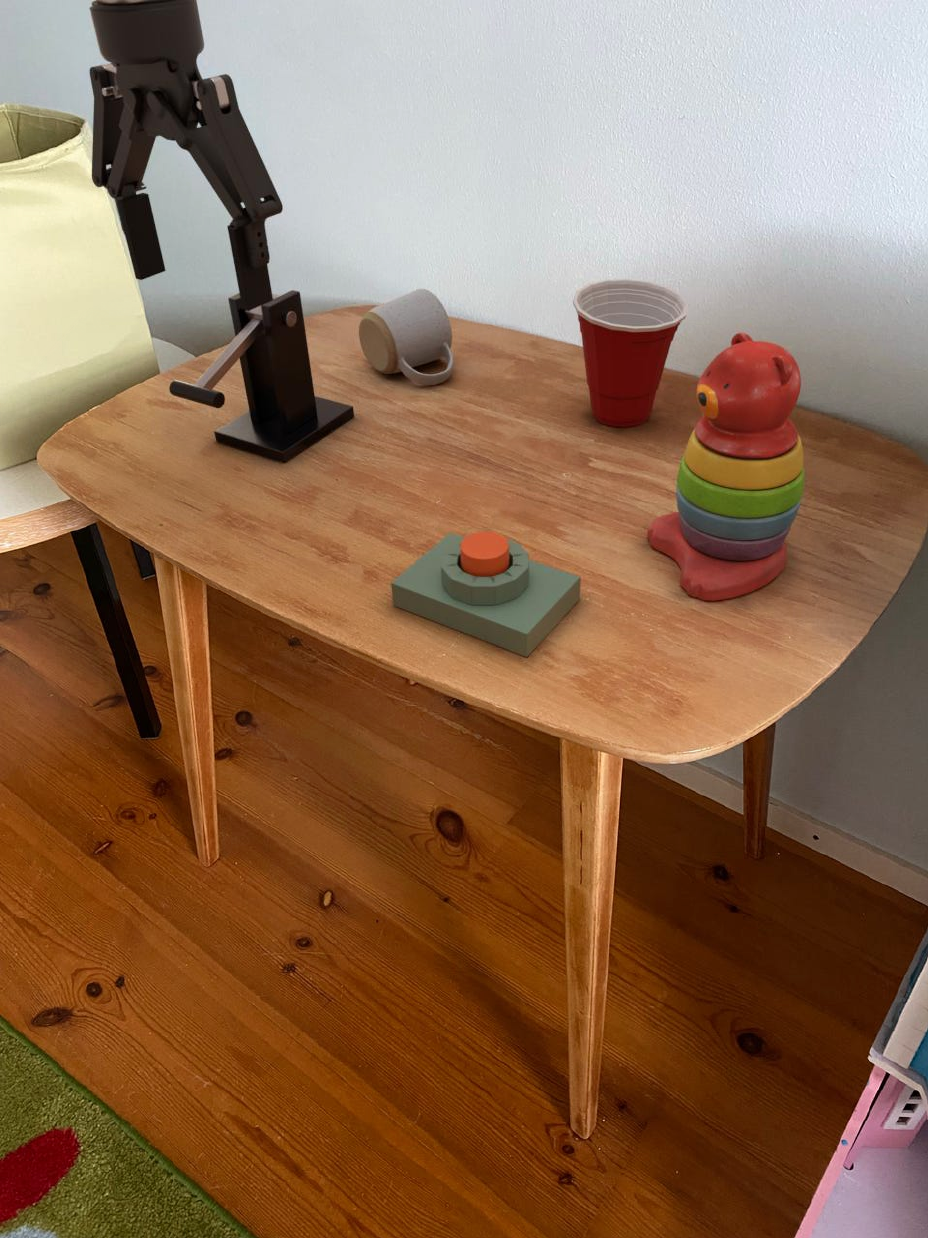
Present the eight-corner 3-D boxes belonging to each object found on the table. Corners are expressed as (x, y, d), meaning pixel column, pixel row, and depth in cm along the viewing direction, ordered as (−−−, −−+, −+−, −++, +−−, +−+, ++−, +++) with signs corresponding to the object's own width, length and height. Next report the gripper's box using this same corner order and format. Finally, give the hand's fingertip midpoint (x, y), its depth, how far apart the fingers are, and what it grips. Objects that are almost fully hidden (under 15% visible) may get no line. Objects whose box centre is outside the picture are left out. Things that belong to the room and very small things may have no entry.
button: (451, 569, 73) (450, 549, 72) (478, 545, 76) (477, 526, 74) (492, 583, 72) (492, 564, 70) (518, 559, 74) (518, 540, 73)
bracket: (284, 463, 94) (260, 323, 86) (215, 441, 98) (186, 306, 90) (354, 416, 101) (339, 283, 93) (287, 398, 105) (266, 268, 97)
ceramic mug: (357, 365, 111) (350, 298, 106) (415, 345, 115) (411, 279, 110) (413, 397, 104) (408, 327, 100) (472, 374, 108) (471, 306, 104)
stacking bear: (639, 531, 83) (657, 326, 72) (749, 511, 84) (783, 308, 73) (694, 606, 74) (724, 387, 63) (815, 583, 76) (865, 366, 65)
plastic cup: (627, 452, 93) (636, 330, 86) (546, 415, 100) (548, 299, 92) (699, 414, 99) (714, 296, 91) (618, 382, 105) (625, 269, 98)
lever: (220, 415, 87) (208, 395, 85) (176, 402, 90) (164, 383, 88) (302, 319, 93) (293, 298, 91) (258, 309, 95) (248, 288, 93)
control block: (393, 605, 76) (388, 563, 73) (451, 554, 81) (448, 513, 79) (527, 657, 70) (527, 614, 68) (580, 599, 76) (582, 556, 73)
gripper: (303, -6, 66) (340, 303, 80) (80, -19, 79) (144, 251, 92) (219, 9, 62) (273, 334, 75) (-4, -7, 74) (76, 275, 87)
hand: (202, 289), depth 83 cm, fingers open, 13 cm apart
